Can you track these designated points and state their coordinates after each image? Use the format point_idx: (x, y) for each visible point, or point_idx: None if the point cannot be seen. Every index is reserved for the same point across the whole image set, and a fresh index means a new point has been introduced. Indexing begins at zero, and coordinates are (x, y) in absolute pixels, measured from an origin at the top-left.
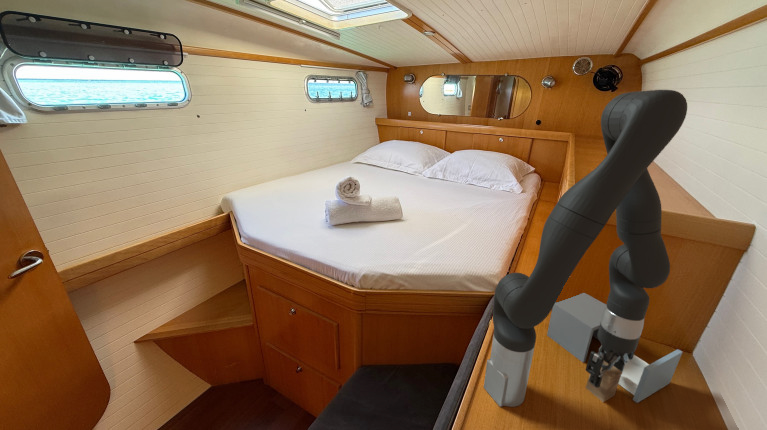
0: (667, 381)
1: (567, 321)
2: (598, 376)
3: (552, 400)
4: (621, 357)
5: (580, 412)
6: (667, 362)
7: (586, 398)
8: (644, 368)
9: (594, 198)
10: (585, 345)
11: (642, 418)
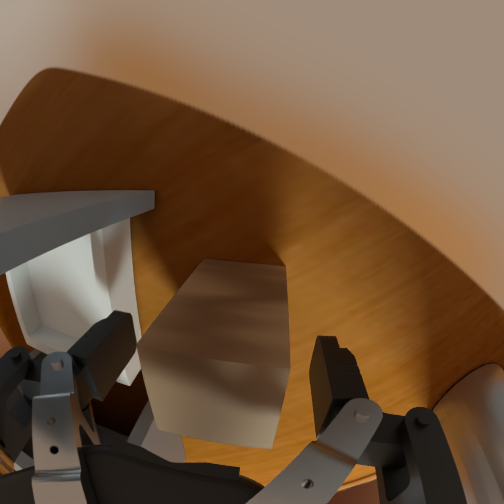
0: (9, 196)
1: None
2: (416, 417)
3: (427, 349)
4: (86, 455)
5: (410, 283)
6: None
7: (328, 308)
8: None
9: None
10: (144, 445)
11: (210, 138)
